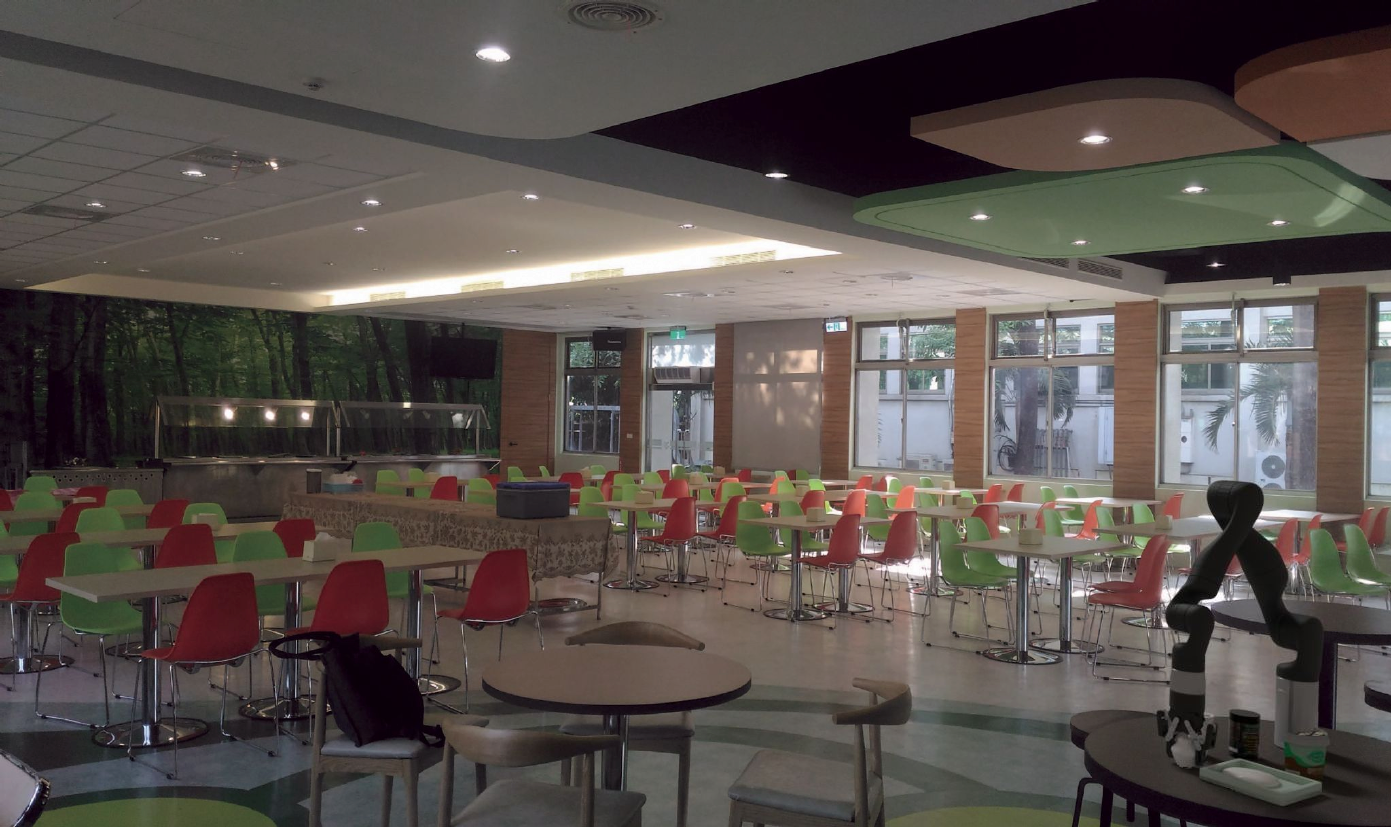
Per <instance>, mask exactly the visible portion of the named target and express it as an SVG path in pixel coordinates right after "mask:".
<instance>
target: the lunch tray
mask: <svg viewBox="0 0 1391 827" xmlns="http://www.w3.org/2000/svg"><path fill="white" fill-rule="evenodd" d="M1199 778H1201V779H1202V780H1206V781H1208V782H1207V783H1209V782H1212V783H1214V784H1213V785H1215V784H1218V785H1220V786H1219V787H1221V786H1224V787H1226V788H1225V789H1227V788H1230V789H1231V791H1233V790H1235V791H1234V792H1236V793H1240V794H1243V795H1246V796H1249V797H1252V798H1256V799H1259V800H1262V801H1265V802H1268V803H1271V804H1274V805H1277V806H1281V807H1284V806H1288V805H1291V804H1295V803H1297V802H1301V801H1304V800H1307V799H1310V798H1313V797H1317V796H1320V795H1322V791H1323V790H1322V788H1323V787H1322V786H1323V783H1322V781H1320V780H1312V779H1308V778H1305V777H1302V776H1298V775H1295V774H1291V773H1288V772H1285V770H1282V769H1281V770H1280V769H1277V768H1273V767H1270V766H1267V765H1264V764H1261V763H1257V762H1254V761H1252V760H1244V759H1240V758H1234V759H1230V760H1227V761H1223V762H1220V763H1219V762H1218V763H1215V764H1212V765H1207V766H1204V767H1203V766H1202V767H1200V768H1199ZM1202 780H1201V781H1202ZM1206 781H1205V782H1206ZM1212 783H1211V784H1212ZM1218 785H1217V786H1218ZM1224 787H1223V788H1224ZM1230 789H1229V790H1230Z"/></svg>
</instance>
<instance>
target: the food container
mask: <svg viewBox="0 0 1391 827" xmlns="http://www.w3.org/2000/svg"><path fill="white" fill-rule="evenodd" d="M1282 741H1283V742H1284V748H1283V750H1284V771H1285V772H1288V773H1291V774H1295V775H1298V776H1302V777H1305V778H1308V779H1312V780H1315V781H1321V780H1322V779H1323V778H1324V770H1325V763H1326V754H1327V747H1329V746H1330V744H1331V741H1330V737H1329V735H1328V732H1326V731H1325V730H1323V729H1321V728H1319V727H1318V728H1315V727H1313V731H1311V732H1298V733H1295V734H1290V733H1286V732H1284V735H1283V739H1282Z"/></svg>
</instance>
